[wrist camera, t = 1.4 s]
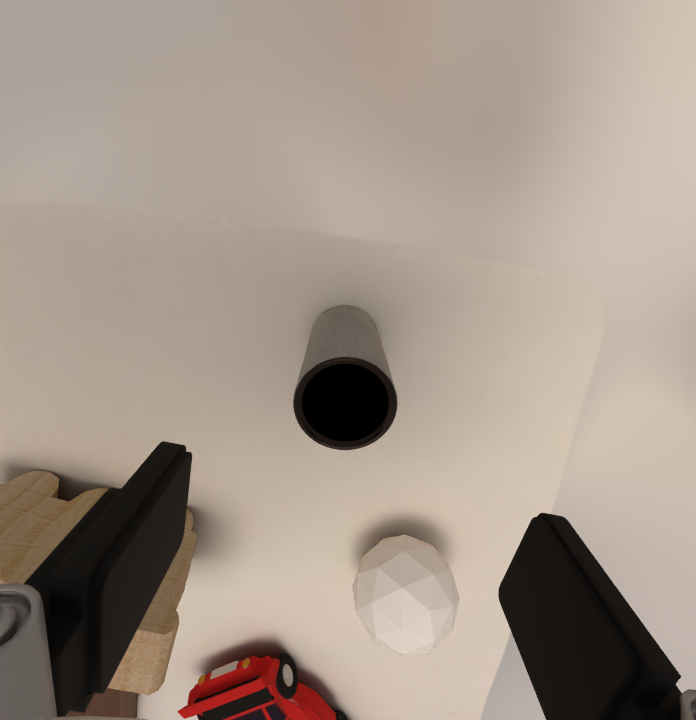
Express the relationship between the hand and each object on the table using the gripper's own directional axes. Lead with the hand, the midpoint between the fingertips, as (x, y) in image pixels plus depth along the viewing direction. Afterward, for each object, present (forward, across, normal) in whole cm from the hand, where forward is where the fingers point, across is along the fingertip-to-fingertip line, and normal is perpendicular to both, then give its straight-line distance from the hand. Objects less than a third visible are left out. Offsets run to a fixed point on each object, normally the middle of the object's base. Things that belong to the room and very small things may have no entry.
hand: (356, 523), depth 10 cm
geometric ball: (+17, -8, +18) cm, 26 cm away
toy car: (+17, -2, +40) cm, 43 cm away
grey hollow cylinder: (+17, 0, 0) cm, 17 cm away
